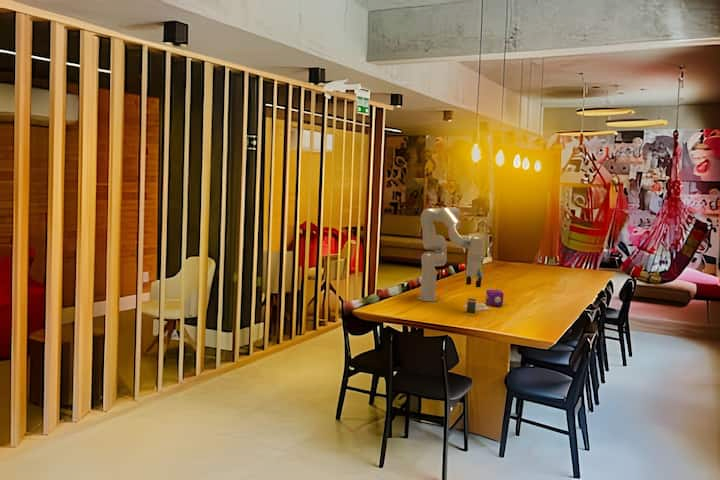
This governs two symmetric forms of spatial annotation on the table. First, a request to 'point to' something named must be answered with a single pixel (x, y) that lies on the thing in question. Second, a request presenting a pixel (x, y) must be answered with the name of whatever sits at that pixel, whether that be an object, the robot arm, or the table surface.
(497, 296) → the toy camera
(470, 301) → the lens
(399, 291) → the table surface
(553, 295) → the table surface
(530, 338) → the table surface
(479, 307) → the lens mount
